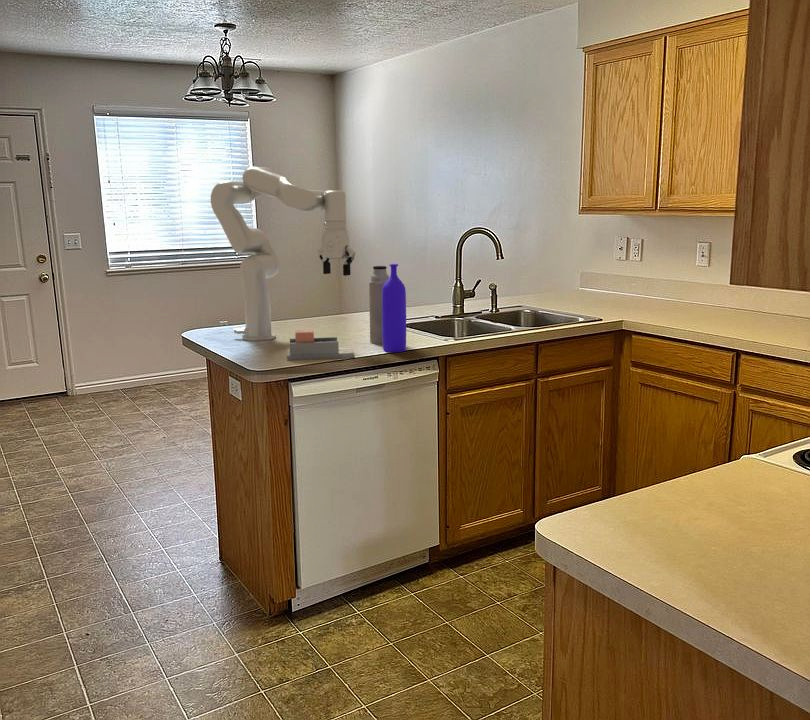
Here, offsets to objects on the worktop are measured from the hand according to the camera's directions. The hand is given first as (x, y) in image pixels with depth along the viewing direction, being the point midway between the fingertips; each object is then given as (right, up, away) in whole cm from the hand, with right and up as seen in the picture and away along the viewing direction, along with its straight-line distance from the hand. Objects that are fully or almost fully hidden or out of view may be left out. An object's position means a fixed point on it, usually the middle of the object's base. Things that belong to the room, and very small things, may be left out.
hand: (336, 274), depth 267 cm
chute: (-4, -29, -16) cm, 34 cm away
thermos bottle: (+16, -24, +8) cm, 30 cm away
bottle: (+21, -28, -7) cm, 35 cm away
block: (-9, -28, -17) cm, 34 cm away
